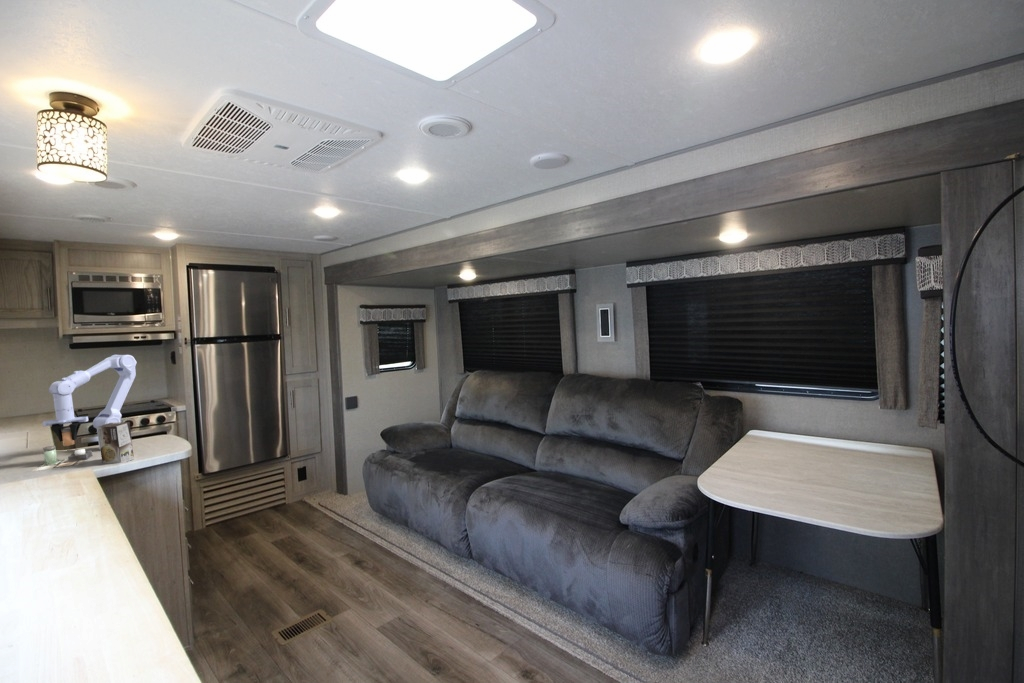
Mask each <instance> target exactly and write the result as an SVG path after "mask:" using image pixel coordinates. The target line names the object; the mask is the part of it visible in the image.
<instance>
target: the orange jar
mask: <svg viewBox="0 0 1024 683" xmlns="http://www.w3.org/2000/svg"><path fill="white" fill-rule="evenodd" d="M61 433H62V440H63V441H62V445H63V447H68V446H73V445H75V443H76V442H75V440H72V433H71V429H70V427H65V428H64V427H63V429H61Z"/></svg>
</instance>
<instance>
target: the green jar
mask: <svg viewBox="0 0 1024 683" xmlns="http://www.w3.org/2000/svg"><path fill="white" fill-rule="evenodd" d="M42 449H43V450H42V451H43V456H44V457H43V458H44V463H45V465H51V464H55V463H57V461H58V457H57V450H56V449H57V448H56V445H48V446H44V447H42Z"/></svg>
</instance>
